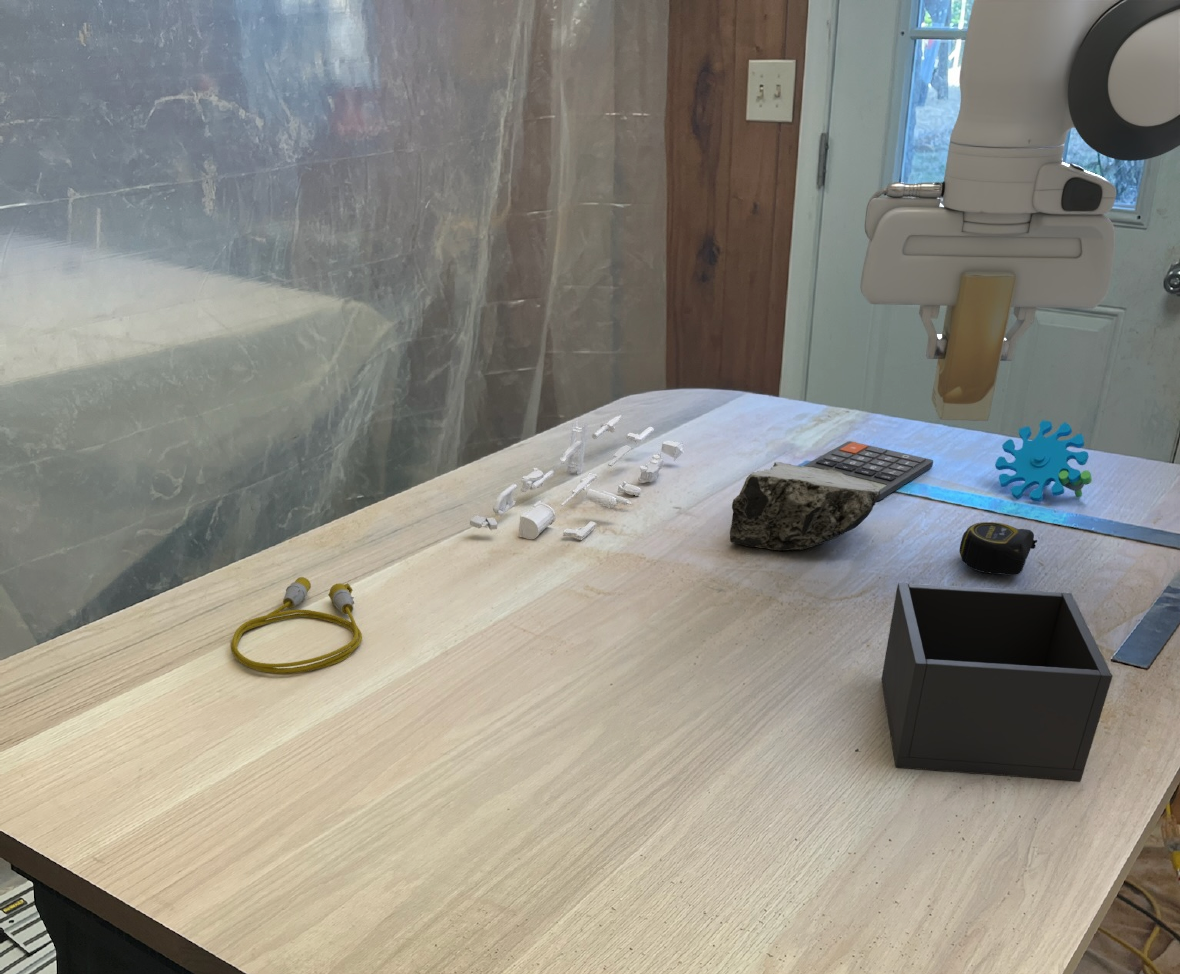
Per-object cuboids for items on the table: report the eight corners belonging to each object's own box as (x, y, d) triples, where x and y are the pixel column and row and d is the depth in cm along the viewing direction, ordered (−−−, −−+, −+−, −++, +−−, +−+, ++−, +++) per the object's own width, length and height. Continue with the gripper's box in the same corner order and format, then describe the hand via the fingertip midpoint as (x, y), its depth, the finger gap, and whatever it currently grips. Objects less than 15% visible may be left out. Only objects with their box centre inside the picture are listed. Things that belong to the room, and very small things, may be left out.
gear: (976, 474, 135) (1030, 404, 134) (985, 498, 140) (1038, 431, 139) (1057, 513, 129) (1114, 441, 128) (1063, 537, 134) (1119, 467, 133)
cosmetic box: (929, 400, 107) (951, 258, 100) (977, 401, 107) (1002, 259, 100) (940, 421, 102) (964, 273, 95) (990, 422, 101) (1018, 273, 94)
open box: (1045, 690, 97) (1071, 592, 92) (1080, 781, 86) (1113, 676, 81) (881, 679, 98) (897, 582, 93) (895, 767, 87) (915, 663, 82)
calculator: (934, 458, 141) (879, 493, 131) (933, 466, 141) (878, 501, 132) (849, 439, 147) (790, 471, 137) (848, 446, 147) (789, 478, 138)
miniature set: (607, 434, 148) (693, 463, 145) (468, 547, 123) (568, 585, 120) (613, 386, 144) (703, 415, 141) (470, 493, 119) (575, 530, 116)
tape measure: (1018, 587, 114) (1026, 551, 111) (949, 572, 116) (956, 537, 114) (1032, 562, 118) (1040, 527, 116) (965, 548, 121) (972, 514, 119)
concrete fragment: (743, 479, 131) (864, 415, 123) (780, 564, 132) (903, 506, 124) (697, 490, 118) (828, 419, 110) (738, 583, 119) (871, 519, 111)
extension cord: (411, 614, 108) (409, 594, 107) (305, 689, 96) (302, 668, 95) (307, 588, 112) (304, 569, 111) (194, 657, 101) (189, 636, 100)
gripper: (872, 187, 92) (851, 365, 100) (1138, 189, 90) (1095, 371, 98) (866, 177, 97) (847, 346, 105) (1118, 179, 95) (1079, 352, 103)
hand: (968, 358), depth 101 cm, fingers closed on cosmetic box, 4 cm apart
